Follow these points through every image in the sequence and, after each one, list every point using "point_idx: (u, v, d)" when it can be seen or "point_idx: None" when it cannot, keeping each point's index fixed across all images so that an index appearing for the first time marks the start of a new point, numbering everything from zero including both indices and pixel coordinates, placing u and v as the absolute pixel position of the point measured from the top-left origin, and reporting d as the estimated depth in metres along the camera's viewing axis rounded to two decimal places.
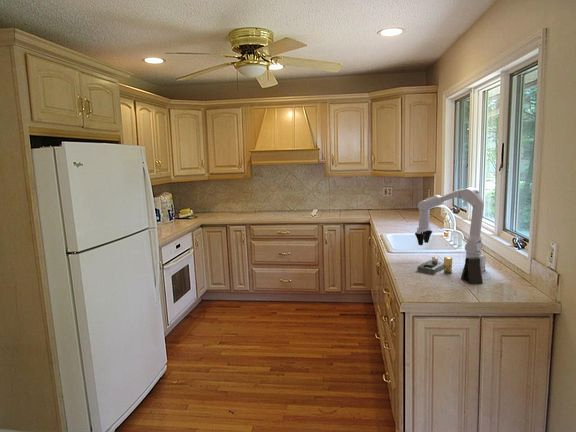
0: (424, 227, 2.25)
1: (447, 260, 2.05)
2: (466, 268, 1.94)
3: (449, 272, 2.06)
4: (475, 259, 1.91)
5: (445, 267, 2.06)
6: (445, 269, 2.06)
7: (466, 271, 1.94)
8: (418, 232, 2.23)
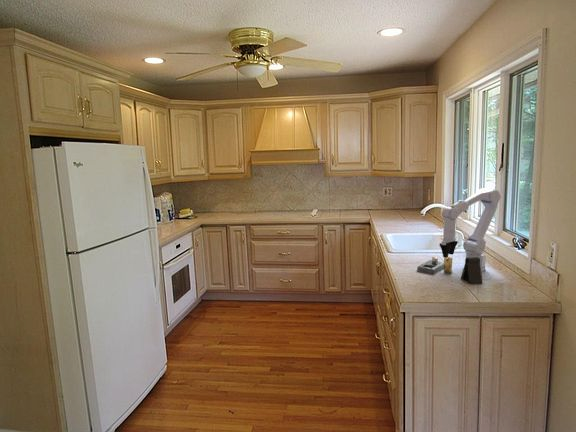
0: (450, 237, 2.02)
1: (447, 260, 2.05)
2: (466, 268, 1.94)
3: (449, 272, 2.06)
4: (475, 259, 1.91)
5: (445, 267, 2.06)
6: (445, 269, 2.06)
7: (466, 271, 1.94)
8: (443, 243, 1.99)
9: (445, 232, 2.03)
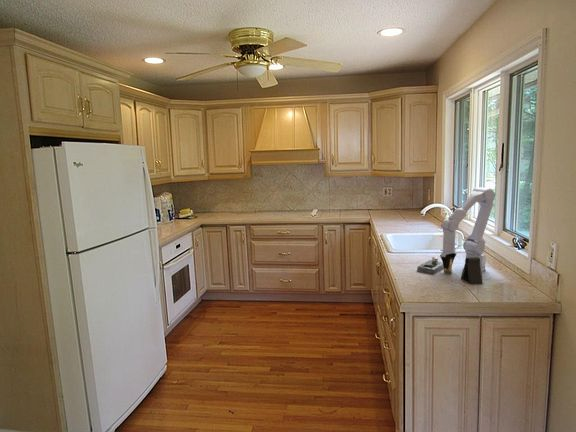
0: (449, 249, 2.03)
1: None
2: (466, 268, 1.94)
3: (449, 272, 2.06)
4: (475, 259, 1.91)
5: None
6: (445, 269, 2.06)
7: (466, 271, 1.94)
8: (443, 255, 2.00)
9: (445, 244, 2.04)
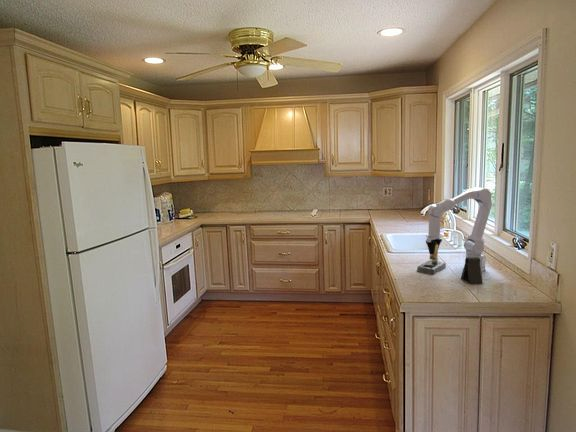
0: (434, 235, 2.04)
1: None
2: (466, 268, 1.94)
3: (435, 258, 2.07)
4: (475, 259, 1.91)
5: None
6: (431, 255, 2.08)
7: (466, 271, 1.94)
8: (428, 240, 2.02)
9: (430, 230, 2.06)
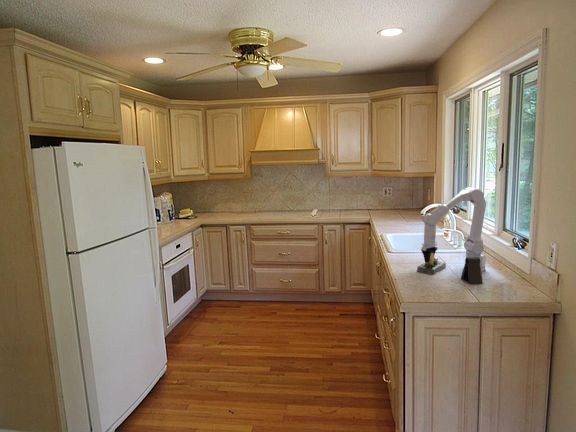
0: (430, 243, 2.06)
1: None
2: (466, 268, 1.94)
3: (430, 266, 2.09)
4: (475, 259, 1.91)
5: None
6: (426, 263, 2.09)
7: (466, 271, 1.94)
8: (423, 249, 2.04)
9: (425, 238, 2.07)
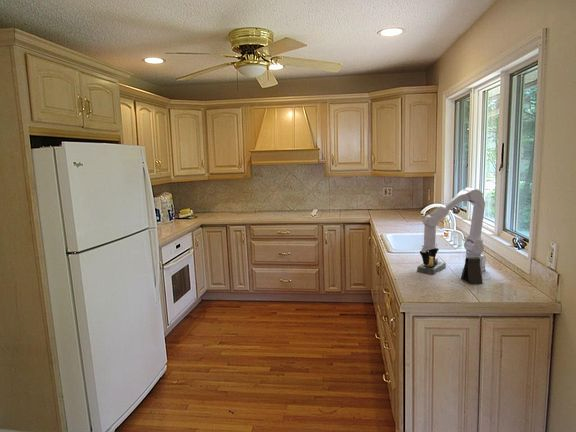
0: (430, 245, 2.06)
1: None
2: (466, 268, 1.94)
3: None
4: (475, 259, 1.91)
5: (426, 265, 2.10)
6: None
7: (466, 271, 1.94)
8: (423, 251, 2.04)
9: (425, 240, 2.07)
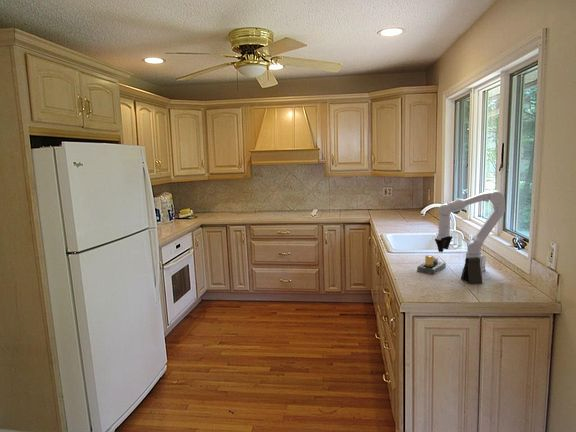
0: (444, 233, 2.12)
1: (428, 258, 2.08)
2: (466, 268, 1.94)
3: None
4: (475, 259, 1.91)
5: (426, 265, 2.10)
6: None
7: (466, 271, 1.94)
8: (438, 238, 2.10)
9: (440, 228, 2.13)
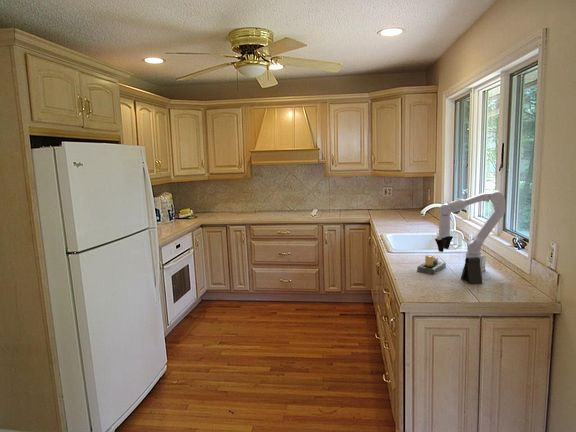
0: (445, 233, 2.12)
1: (428, 258, 2.08)
2: (466, 268, 1.94)
3: None
4: (475, 259, 1.91)
5: (426, 265, 2.10)
6: None
7: (466, 271, 1.94)
8: (439, 238, 2.10)
9: (440, 228, 2.13)
